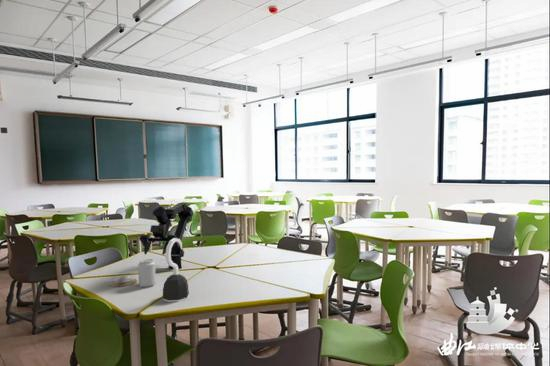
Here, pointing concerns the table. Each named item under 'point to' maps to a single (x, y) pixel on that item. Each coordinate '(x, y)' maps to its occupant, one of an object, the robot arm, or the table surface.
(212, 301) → the table surface
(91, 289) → the table surface
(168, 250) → the hook
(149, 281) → the can
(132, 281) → the stub stand
